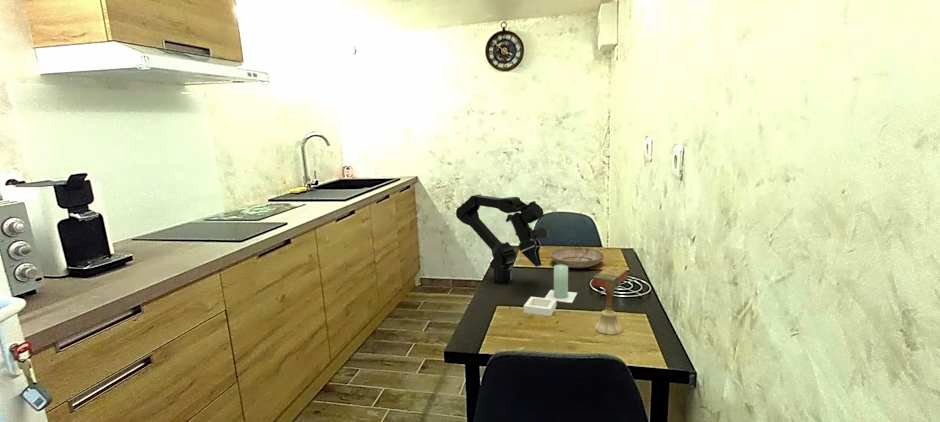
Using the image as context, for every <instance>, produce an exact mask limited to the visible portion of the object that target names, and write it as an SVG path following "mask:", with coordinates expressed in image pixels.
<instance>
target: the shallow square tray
mask: <svg viewBox="0 0 940 422" xmlns="http://www.w3.org/2000/svg"><path fill="white" fill-rule="evenodd" d="M556 307H557V301H556V299H547V298H545V297H538V296H530V297H529V298H528V299H527V301H526V302H525V304H524V305H523V314H529V315H537V316H542V317H543V316H545V317H551V316H552V314H553V313H554V311H555V309H556Z"/></svg>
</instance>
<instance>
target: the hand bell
mask: <svg viewBox="0 0 940 422" xmlns="http://www.w3.org/2000/svg"><path fill="white" fill-rule="evenodd" d="M604 291H605V296H606V297H605V298H606V303H605V304H606V305H605V309H603V310H602V311H601V312H600V317H599V320H598V321H597V323H596V324H594V328H595V329H596V332H598V333H600V334H603V335H609V336H610V335H611V336H612V335H620V334H621V333H622V332H623V328H622V326H621V325H620V324H619V321H618V318H617V313H616V311H614V310H612V308H613V297H614V294H615V288H614V284H613V280H612V279H608V281H607V283H606V287H605V288H604Z"/></svg>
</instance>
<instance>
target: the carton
mask: <svg viewBox="0 0 940 422" xmlns="http://www.w3.org/2000/svg"><path fill="white" fill-rule="evenodd" d="M608 279H612V280H613V284H614V289H616V288H617V287H618V286H620V285H621V284H622V283H623V282H624V281H625V280H627V279H628V269H626V268H622V267H616V266H609V265H608V266H606V267H604V268H603V269H602V270H601V271H599V272H598V273H596V274H595V275H594V276H593V277H592V282H591V284H592V285H593V286H592V285H591V286H592V287H594V286H599V287H598V288H600V287H603V288H602V289H605V287H606V283H607V281H608ZM621 282H622V283H621ZM617 285H618V286H617ZM616 286H617V287H616ZM615 287H616V288H615Z"/></svg>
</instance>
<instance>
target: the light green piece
mask: <svg viewBox="0 0 940 422" xmlns="http://www.w3.org/2000/svg"><path fill="white" fill-rule="evenodd" d="M553 290H554V297H556V298H567V297H568V292H569V267H568V266H566V265H560V264H554V266H553Z"/></svg>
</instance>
